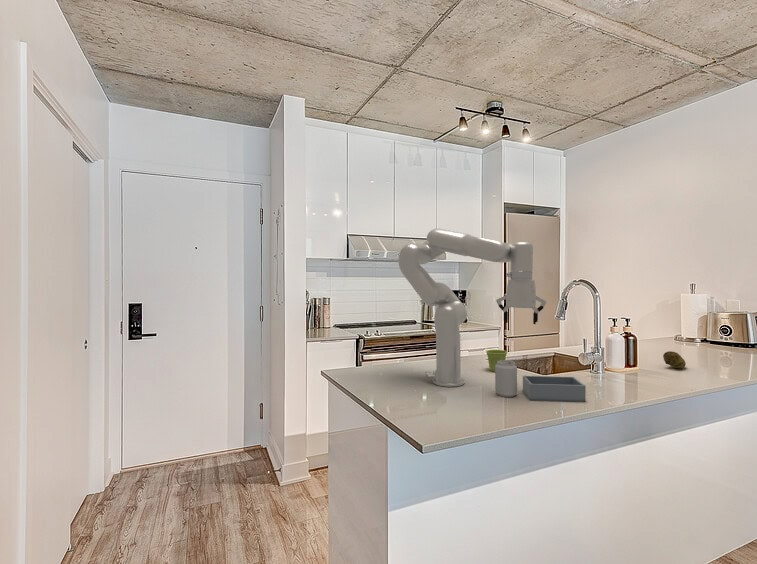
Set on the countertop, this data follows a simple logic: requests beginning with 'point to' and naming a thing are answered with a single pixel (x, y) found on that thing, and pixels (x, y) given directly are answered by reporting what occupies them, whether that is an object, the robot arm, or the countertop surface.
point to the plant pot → (495, 357)
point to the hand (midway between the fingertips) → (520, 323)
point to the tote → (554, 388)
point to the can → (506, 378)
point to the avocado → (674, 360)
